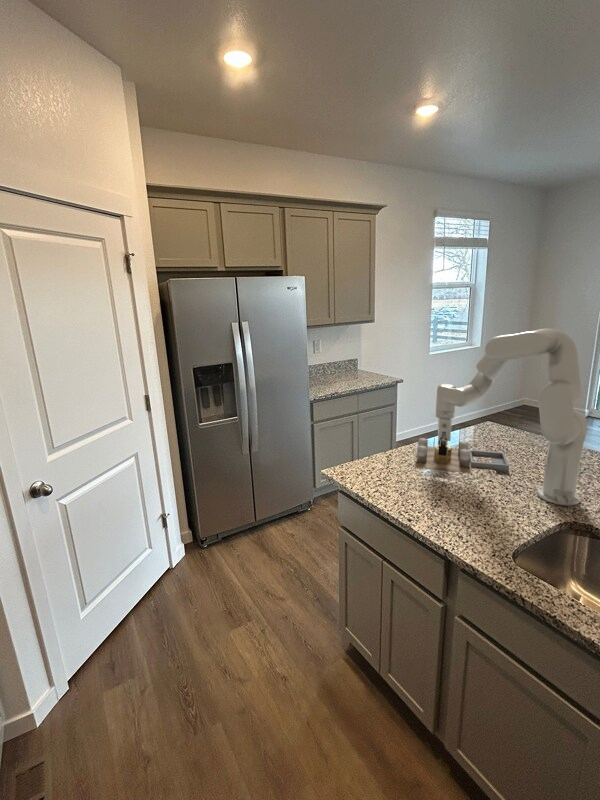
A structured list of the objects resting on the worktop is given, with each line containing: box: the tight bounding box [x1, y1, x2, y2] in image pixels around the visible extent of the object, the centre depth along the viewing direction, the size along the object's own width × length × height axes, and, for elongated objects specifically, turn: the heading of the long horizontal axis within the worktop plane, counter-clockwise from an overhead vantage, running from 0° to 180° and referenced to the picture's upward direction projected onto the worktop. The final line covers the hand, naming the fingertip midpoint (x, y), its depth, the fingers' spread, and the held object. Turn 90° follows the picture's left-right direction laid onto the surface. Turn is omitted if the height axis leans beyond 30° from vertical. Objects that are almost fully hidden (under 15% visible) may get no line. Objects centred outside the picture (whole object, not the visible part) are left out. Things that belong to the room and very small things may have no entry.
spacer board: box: [416, 437, 471, 474], centre depth 169 cm, size 26×21×7 cm
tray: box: [468, 449, 510, 473], centre depth 164 cm, size 14×14×3 cm
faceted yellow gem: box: [434, 444, 453, 461], centre depth 169 cm, size 7×6×5 cm
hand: (442, 450), depth 169 cm, fingers open, 9 cm apart
